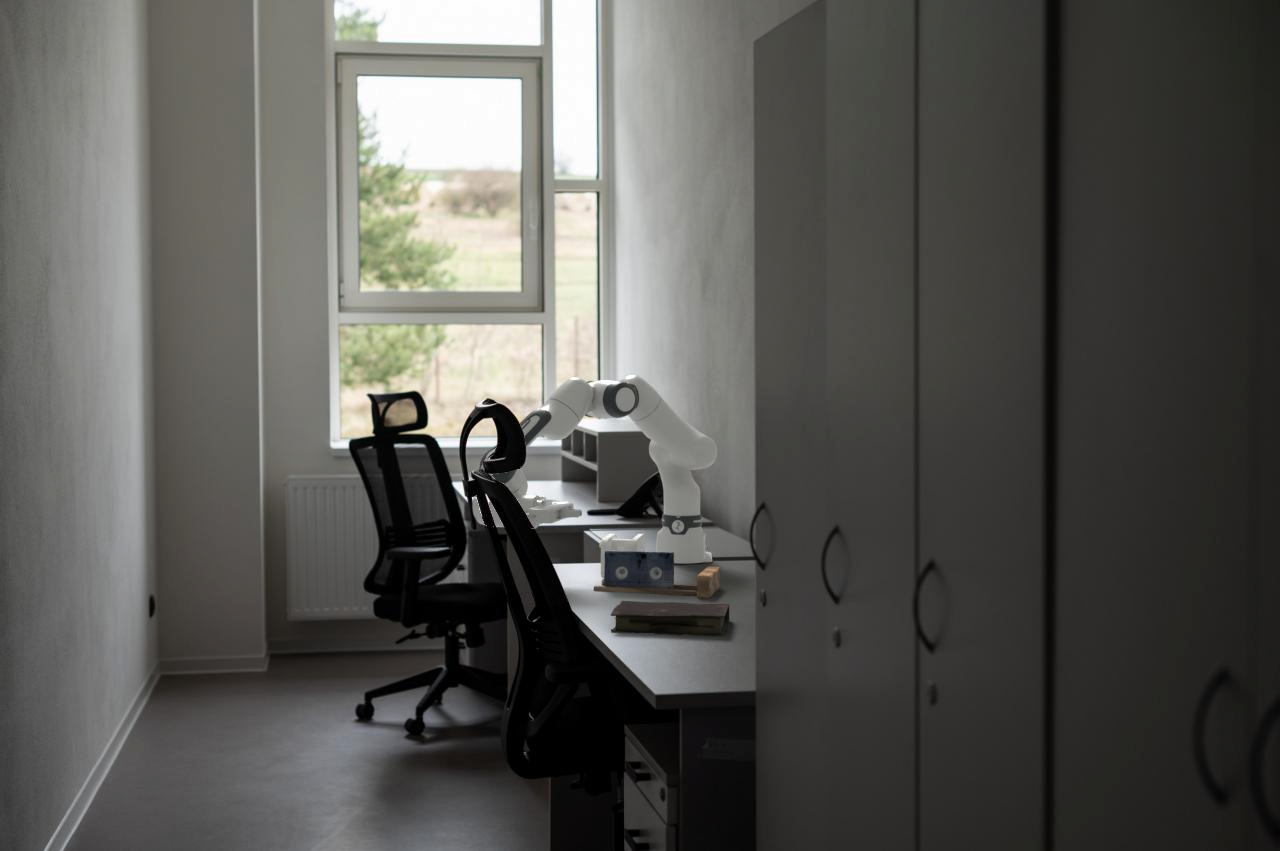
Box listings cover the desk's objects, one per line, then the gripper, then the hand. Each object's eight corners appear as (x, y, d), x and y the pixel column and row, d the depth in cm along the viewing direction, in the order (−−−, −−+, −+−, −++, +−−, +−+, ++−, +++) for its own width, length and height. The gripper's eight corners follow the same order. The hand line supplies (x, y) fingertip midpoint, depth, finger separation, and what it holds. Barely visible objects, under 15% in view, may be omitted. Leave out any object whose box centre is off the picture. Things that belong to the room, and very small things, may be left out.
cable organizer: (636, 582, 343) (637, 539, 343) (598, 581, 345) (598, 538, 344) (645, 573, 358) (645, 532, 358) (608, 572, 360) (608, 531, 359)
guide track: (606, 582, 342) (606, 561, 342) (719, 587, 335) (719, 566, 335) (590, 592, 327) (590, 570, 326) (709, 598, 320) (709, 576, 319)
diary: (622, 620, 295) (622, 598, 295) (729, 623, 292) (729, 602, 292) (609, 635, 276) (610, 612, 276) (724, 639, 273) (724, 616, 273)
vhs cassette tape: (674, 589, 333) (674, 551, 332) (673, 591, 330) (674, 553, 330) (604, 588, 334) (605, 550, 334) (603, 590, 331) (603, 552, 331)
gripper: (518, 503, 328) (569, 505, 325) (542, 496, 348) (590, 498, 344) (518, 527, 328) (569, 529, 325) (542, 519, 348) (590, 521, 345)
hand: (580, 513), depth 335 cm, fingers closed
